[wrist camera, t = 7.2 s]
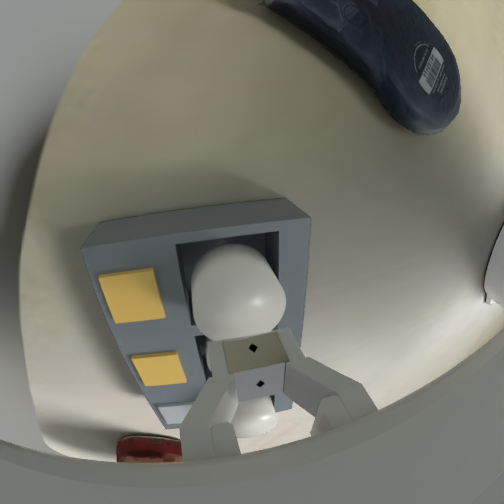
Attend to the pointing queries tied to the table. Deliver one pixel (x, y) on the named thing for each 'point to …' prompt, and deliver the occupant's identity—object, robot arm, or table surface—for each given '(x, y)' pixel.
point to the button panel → (187, 288)
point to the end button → (235, 293)
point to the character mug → (148, 450)
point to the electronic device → (387, 54)
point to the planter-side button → (254, 417)
